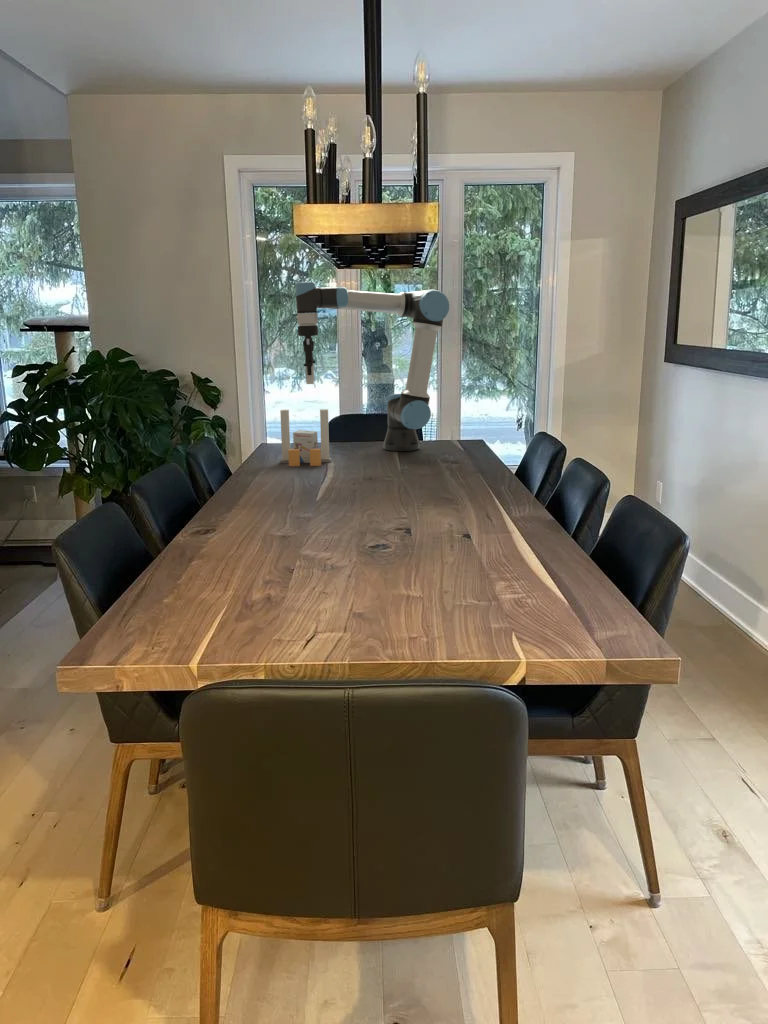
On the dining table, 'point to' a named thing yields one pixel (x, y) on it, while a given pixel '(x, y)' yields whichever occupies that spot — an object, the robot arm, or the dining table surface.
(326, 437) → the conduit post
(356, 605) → the dining table surface
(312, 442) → the ink box
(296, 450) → the paddle
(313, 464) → the paddle
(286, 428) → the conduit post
